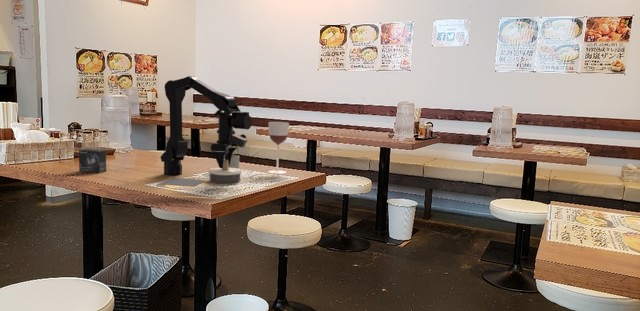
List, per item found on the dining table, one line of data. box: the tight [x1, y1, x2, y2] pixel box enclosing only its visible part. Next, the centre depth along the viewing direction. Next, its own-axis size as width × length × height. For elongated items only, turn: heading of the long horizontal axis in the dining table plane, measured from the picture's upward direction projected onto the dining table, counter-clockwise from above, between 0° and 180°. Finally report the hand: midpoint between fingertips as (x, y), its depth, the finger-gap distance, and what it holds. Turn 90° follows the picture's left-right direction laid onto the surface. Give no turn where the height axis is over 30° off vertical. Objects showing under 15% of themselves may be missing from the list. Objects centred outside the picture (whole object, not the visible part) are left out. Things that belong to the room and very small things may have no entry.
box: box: [78, 148, 107, 174], centre depth 207 cm, size 9×6×10 cm, turn 81°
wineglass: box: [267, 121, 290, 175], centre depth 226 cm, size 9×10×23 cm
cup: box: [224, 154, 240, 169], centre depth 211 cm, size 7×10×9 cm
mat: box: [159, 177, 208, 188], centre depth 191 cm, size 14×14×1 cm
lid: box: [207, 160, 242, 175], centre depth 197 cm, size 13×13×5 cm
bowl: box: [208, 172, 242, 185], centre depth 197 cm, size 12×12×4 cm
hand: (224, 166), depth 197 cm, fingers open, 9 cm apart
